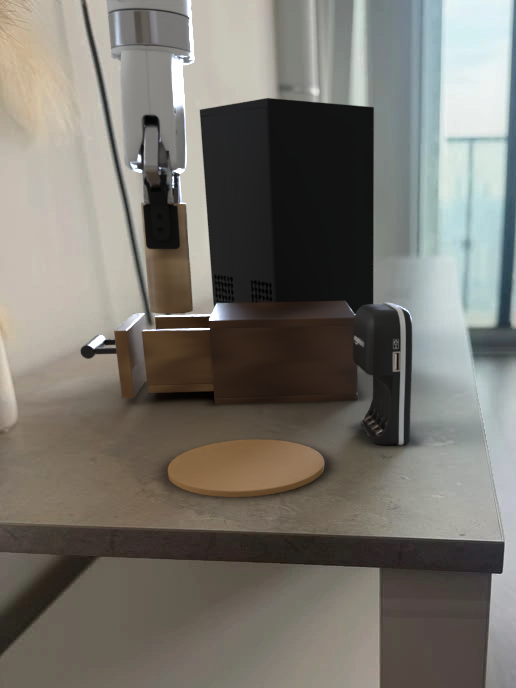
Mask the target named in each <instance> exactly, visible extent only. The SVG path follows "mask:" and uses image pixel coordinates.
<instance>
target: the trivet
mask: <svg viewBox="0 0 516 688" xmlns="http://www.w3.org/2000/svg"><path fill="white" fill-rule="evenodd" d="M324 470H325V459H324V457H323V455H322V454H321V453H320V452H319V451H317V450H316V449H314V448H312V447H309V446H308V445H305V444H301V443H297V442H293V441H286V440H278V439H267V438H265V439H264V438H263V439H261V438H259V439H258V438H257V439H256V438H251V439H236V440H235V439H234V440H227V441H226V440H225V441H220V442H215V443H210V444H205V445H201V446H199V447H196V448H191V449H190V450H187V451H185V452H183V453H181V454H178V455H177V456H176V457H174V458H173V459H172V460H171V461H170V463H169V464H168V467H167V474H168V479H169V481H170V482H171V483H172V484H173V485H174V486H176V487H178V488H180V489H182V490H183V491H184V490H185V491H187V492H190V493H193V494H199V495H204V496H212V497H219V498H220V497H223V498H246V497H247V498H248V497H249V498H250V497H259V496H261V497H262V496H267V495H274V494H275V495H276V494H279V493H285V492H288V491H291V490H295V489H298V488H301V487H303V486H305V485H308V484H310V483H312V482H314V481H315V480H316V479H318V478H319V477H320V476H321V475H322V474H323V472H324Z"/></svg>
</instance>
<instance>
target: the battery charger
mask: <svg viewBox="0 0 516 688" xmlns="http://www.w3.org/2000/svg"><path fill="white" fill-rule="evenodd" d="M353 359H354V362H355V363H356V364H357V367H358V368H360V369H361V370H362V371H363V372H364V373H365V374H367V375H369V376H372V399H371V403H370V405H369V408H368V410H367V412H366V414H365V415H364V418H363V419H362V420H360V428H361V429H362V431H363V432H364V433H365V435H366V436H367V437H368V439H369V440H370V441H371V442H372V443H373V444H375V445H379V446H394V445H397V446H403V445H404V444H405V445H407V444H409V443H410V442H411V405H412V380H413V379H412V378H413V321H412V316H411V314H410V312H409V311H408V310H407V309H406V308H405V307H402V306H400V305H399V304H396V303H391V302H382V303H373V304H369V305H363V306H361V307H360V308H359V309H358V310H357V311H356V314H355V317H354V326H353Z"/></svg>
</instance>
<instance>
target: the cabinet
mask: <svg viewBox="0 0 516 688" xmlns="http://www.w3.org/2000/svg"><path fill="white" fill-rule="evenodd" d="M210 315H211V317H210V319H209V328H210V329H209V332H210V346H211V360H212V373H213V387H214V391H213V398H214V399H213V400H214V405H237V404H238V405H241V404H242V405H243V404H269V403H270V404H272V403H274V404H275V403H301V402H302V403H304V402H331V401H333V402H335V401H358V395H359V394H358V391H359V390H358V389H359V388H358V387H359V386H358V382H359V381H358V379H359V378H358V375H359V374H358V365H357V364H356V363H355V362H354V359H353V326H354V317H355V314H354V313H353V311H352V310H351V308H350V307H349V306H348V304H347V303H346V301H307V302H250V303H217V304H216V306H215V308H214V307H213V311H212V312H211V314H210Z"/></svg>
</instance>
